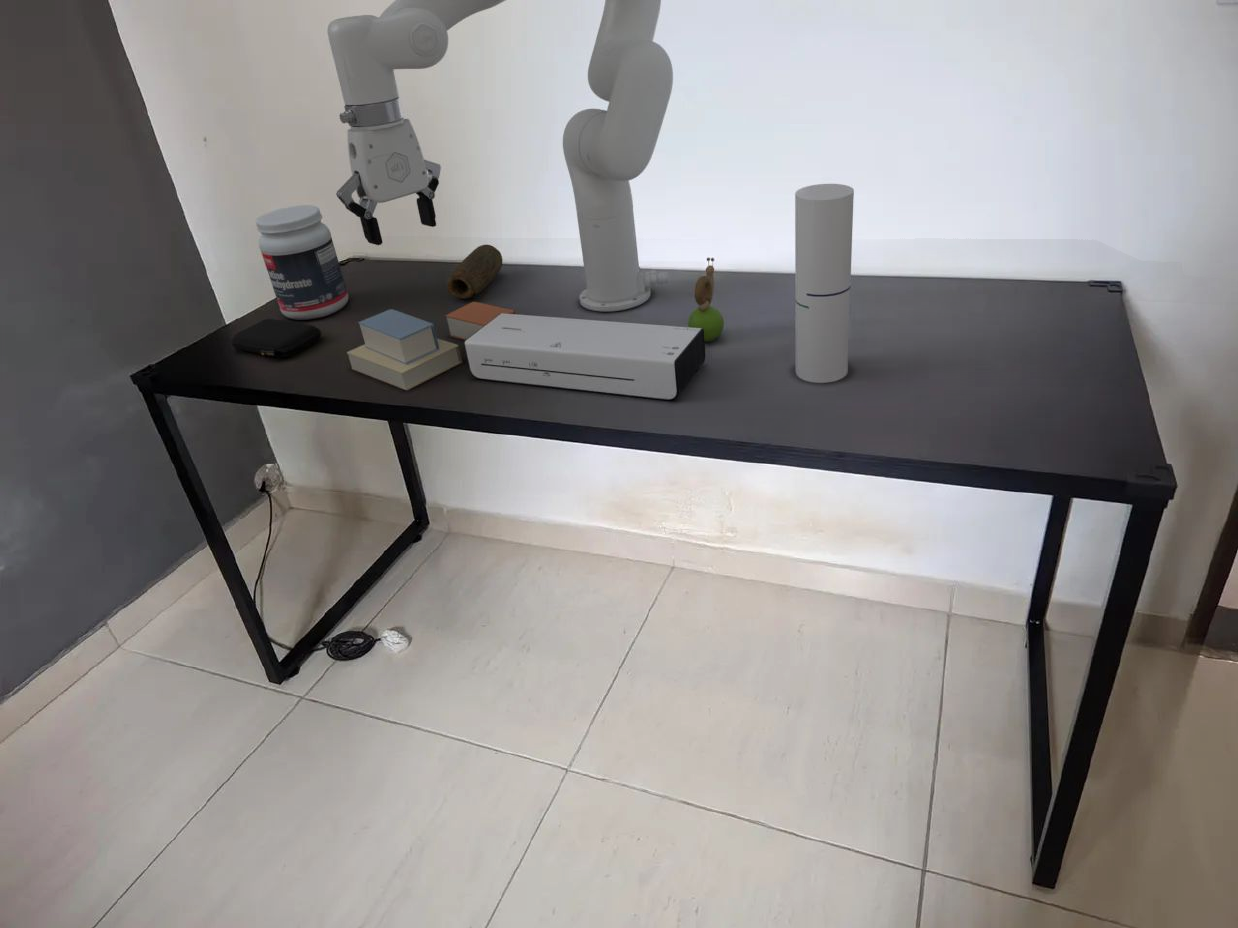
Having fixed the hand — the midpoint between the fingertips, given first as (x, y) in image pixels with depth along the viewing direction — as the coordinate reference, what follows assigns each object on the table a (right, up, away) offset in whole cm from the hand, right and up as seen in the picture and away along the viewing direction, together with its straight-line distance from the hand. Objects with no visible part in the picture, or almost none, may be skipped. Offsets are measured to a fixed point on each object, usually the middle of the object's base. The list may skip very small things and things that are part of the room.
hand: (402, 234), depth 131 cm
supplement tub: (-25, -5, +35) cm, 44 cm away
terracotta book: (+10, -13, +16) cm, 22 cm away
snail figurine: (+47, -15, +4) cm, 49 cm away
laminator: (+28, -21, -1) cm, 35 cm away
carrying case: (-27, -14, +21) cm, 37 cm away
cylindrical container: (+61, -22, -9) cm, 66 cm away
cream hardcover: (-1, -19, +8) cm, 21 cm away
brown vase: (+6, -1, +35) cm, 36 cm away
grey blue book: (-2, -16, +7) cm, 18 cm away
